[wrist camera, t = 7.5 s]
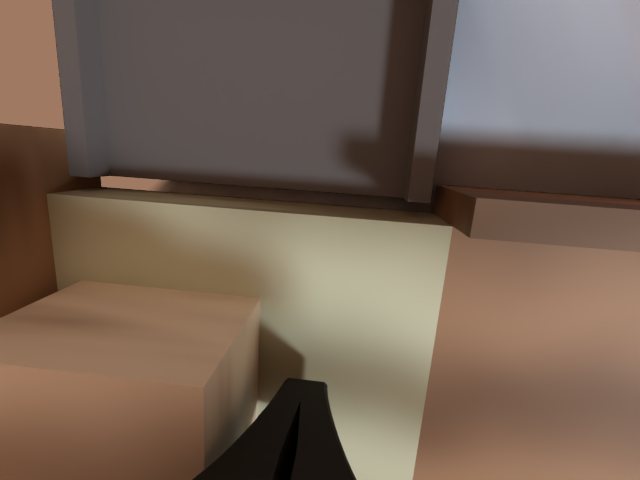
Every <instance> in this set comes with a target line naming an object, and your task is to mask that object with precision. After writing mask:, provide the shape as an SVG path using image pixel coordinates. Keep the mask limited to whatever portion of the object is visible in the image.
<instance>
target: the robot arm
mask: <svg viewBox="0 0 640 480" xmlns="http://www.w3.org/2000/svg"><path fill="white" fill-rule="evenodd" d="M327 387H328V386H327V384H326V383H325V382H320V381H312V380H303V379H294V378H288V379H286V380H285V381H284V383H283V384H282V386H281V387H280V389H279V390H278V392H277V393H276V394H275V396H274V397H273V398H272V400H271V401H270V402H269V404H268V405H267V406H266V407H265V409H264V410H263V411H262V412H261V413H260V415H259V416H258V417H257V418H256V419H255V421H254V422H253V423H252V424H251V425H250V426H249V427H248V428H247V429H246V430H245V432H244V433H243V434H242V435H241V436H240V437H239V438H238V439H237V440H236V441H235V442H234V443H233V444H232V445H231V446H230V447H229V448H228V449H227V450H226V451H225V452H224V453H223V454H222V455H221V456H219V457H218V458H217V459H216V460H215V461H214V462H213V463H212V464H210V465H209V466H208V467H207V468H206V469H205V470H203V471H202V472H201V473H200V474H198V475H197V476H196V477H195V478H193V479H192V480H356V478H355V475H354V473H353V471H352V469H351V467H350V464H349V462H348V460H347V457H346V455H345V452H344V450H343V447H342V445H341V442H340V439H339V436H338V433H337V430H336V427H335V424H334V420H333V417H332V413H331V409H330V404H329V399H328V390H327Z"/></svg>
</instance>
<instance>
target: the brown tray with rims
mask: <svg viewBox="0 0 640 480" xmlns="http://www.w3.org/2000/svg"><path fill="white" fill-rule="evenodd" d="M82 280H85V281H95V282H105V283H116V284H126V285H136V286H146V287H156V288H166V289H176V290H186V291H196V292H206V293H217V294H227V295H237V296H247V297H257V298H261V302H260V335H259V367H258V400H257V417H258V416H259V415H260V413H261V412H262V411H263V410H264V409H265V407H266V406H267V405H268V404H269V402H270V401H271V400H272V398H273V397H274V396H275V394H276V393H277V392H278V390H279V389H280V387H281V386H282V384H283V383H284V381H285V380H286V379H288V378H294V379H303V380H312V381H320V382H325V383H326V384H327V386H328V387H327V390H328V399H329V404H330V409H331V413H332V417H333V420H334V424H335V427H336V430H337V433H338V436H339V439H340V442H341V445H342V447H343V450H344V452H345V455H346V457H347V460H348V462H349V464H350V467H351V469H352V471H353V473H354V475H355V478H356V480H640V200H638V199H624V198H611V197H597V196H583V195H569V194H556V193H542V192H528V191H514V190H501V189H487V188H473V187H459V186H446V185H437V191H436V198H435V205H434V211H433V213H427V212H414V211H402V210H389V209H376V208H363V207H350V206H338V205H325V204H312V203H299V202H286V201H274V200H261V199H248V198H235V197H222V196H210V195H197V194H184V193H171V192H158V191H146V190H132V189H120V188H107V187H101V178H100V177H77V176H69V166H68V156H67V146H66V136H65V130H64V129H53V128H42V127H32V126H21V125H10V124H0V318H1V317H4V316H6V315H8V314H10V313H12V312H14V311H17V310H19V309H21V308H23V307H25V306H27V305H30V304H32V303H34V302H36V301H38V300H40V299H43V298H45V297H47V296H49V295H51V294H53V293H56V292H58V291H60V290H62V289H64V288H66V287H69V286H71V285H73V284H75V283H77V282H79V281H82Z"/></svg>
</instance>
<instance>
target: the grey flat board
mask: <svg viewBox="0 0 640 480" xmlns="http://www.w3.org/2000/svg"><path fill="white" fill-rule="evenodd" d="M458 3H459V0H52V7H53V17H54V27H55V36H56V47H57V57H58V67H59V77H60V87H61V96H62V106H63V116H64V126H65V136H66V146H67V156H68V166H69V176H77V177H101V176H123V177H135V178H148V179H161V180H174V181H188V182H201V183H214V184H227V185H241V186H254V187H267V188H280V189H293V190H307V191H320V192H333V193H346V194H359V195H373V196H386V197H399V198H404V199H405V200H406V201H407V202H417V203H430V201H431V194H432V187H433V180H434V173H435V166H436V159H437V152H438V145H439V138H440V131H441V123H442V116H443V109H444V102H445V95H446V88H447V81H448V74H449V67H450V60H451V53H452V46H453V39H454V31H455V24H456V17H457V10H458Z"/></svg>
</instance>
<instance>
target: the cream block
mask: <svg viewBox="0 0 640 480" xmlns="http://www.w3.org/2000/svg"><path fill="white" fill-rule="evenodd" d="M260 302H261V298H257V297H247V296H237V295H227V294H217V293H206V292H196V291H186V290H176V289H166V288H156V287H146V286H136V285H126V284H116V283H105V282H95V281H85V280H82V281H79V282H77V283H75V284H73V285H71V286H69V287H66V288H64V289H62V290H60V291H58V292H56V293H53V294H51V295H49V296H47V297H45V298H43V299H40V300H38V301H36V302H34V303H32V304H30V305H27V306H25V307H23V308H21V309H19V310H17V311H14V312H12V313H10V314H8V315H6V316H4V317H1V318H0V480H192V479H193V478H195V477H196V476H197V475H198V474H200V473H201V472H202V471H203V470H205V469H206V468H207V467H208V466H209V465H210V464H212V463H213V462H214V461H215V460H216V459H217V458H218V457H219V456H221V455H222V454H223V453H224V452H225V451H226V450H227V449H228V448H229V447H230V446H231V445H232V444H233V443H234V442H235V441H236V440H237V439H238V438H239V437H240V436H241V435H242V434H243V433H244V432H245V430H246V429H247V428H248V427H249V426H250V425H251V424H252V423H253V422H254V421H255V419H256V418H257V400H258V367H259V335H260Z"/></svg>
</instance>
